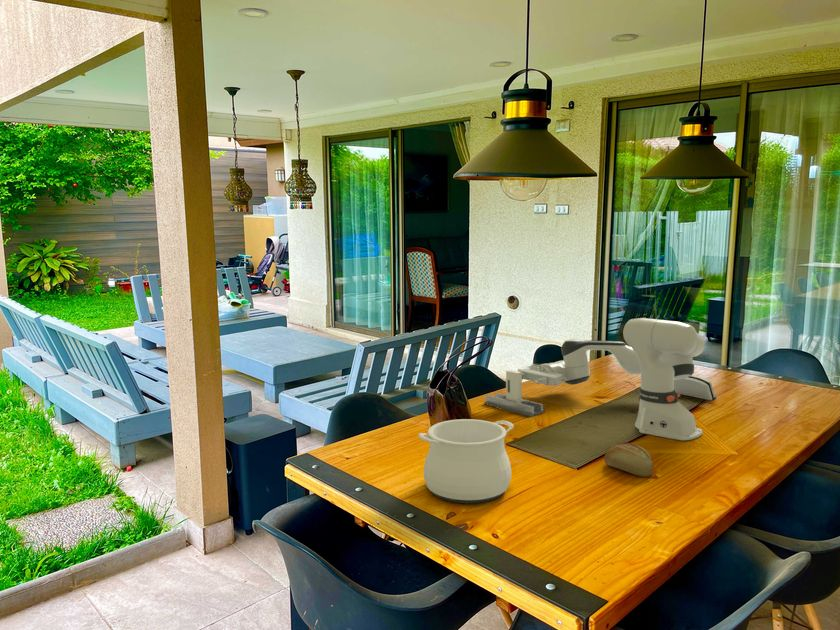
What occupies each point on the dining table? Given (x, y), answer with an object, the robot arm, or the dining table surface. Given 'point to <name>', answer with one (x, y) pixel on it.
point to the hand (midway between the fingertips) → (527, 379)
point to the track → (515, 405)
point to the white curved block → (694, 387)
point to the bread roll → (630, 459)
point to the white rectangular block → (514, 386)
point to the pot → (467, 460)
